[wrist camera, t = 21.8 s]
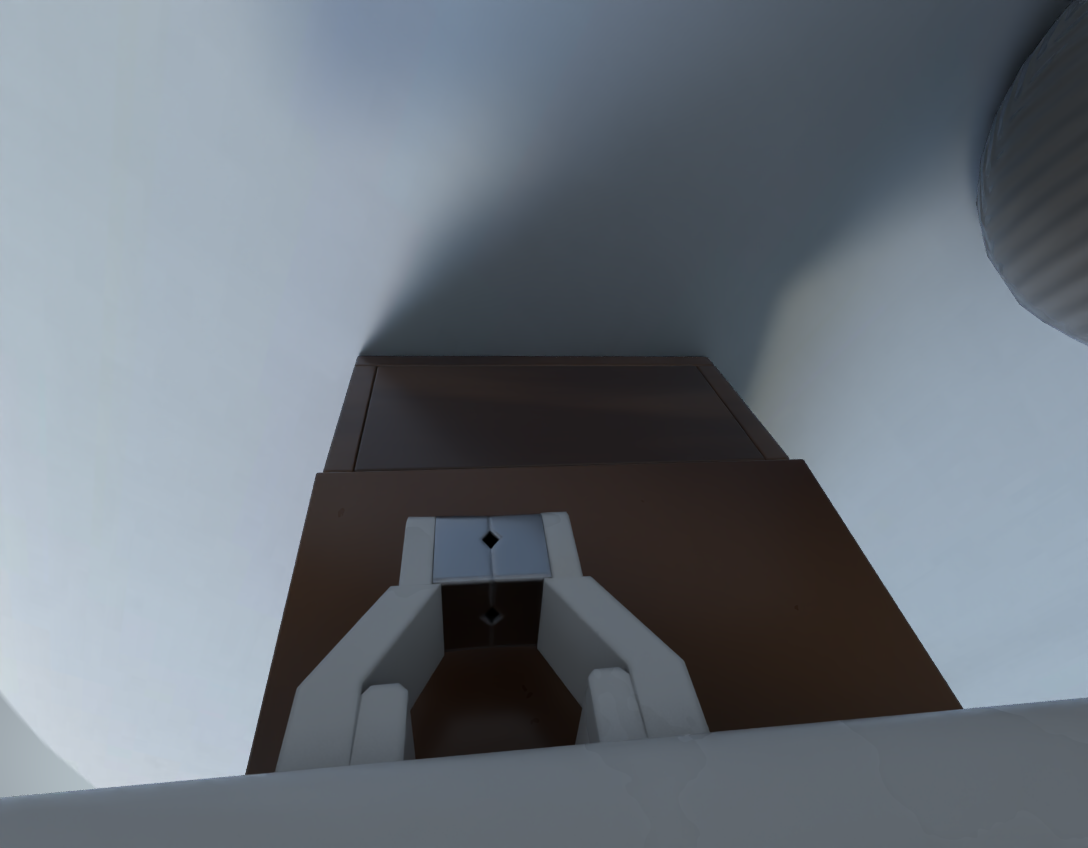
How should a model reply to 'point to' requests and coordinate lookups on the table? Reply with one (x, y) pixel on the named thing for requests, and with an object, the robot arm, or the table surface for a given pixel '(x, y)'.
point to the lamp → (1043, 179)
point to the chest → (541, 413)
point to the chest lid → (621, 598)
